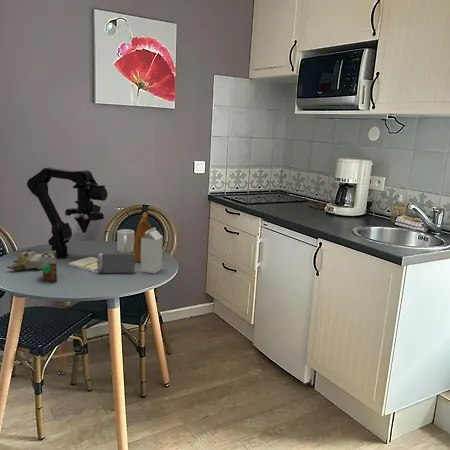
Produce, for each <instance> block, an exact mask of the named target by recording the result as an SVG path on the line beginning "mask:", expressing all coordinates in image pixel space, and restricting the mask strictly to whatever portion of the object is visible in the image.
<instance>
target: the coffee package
mask: <svg viewBox="0 0 450 450" xmlns="http://www.w3.org/2000/svg"><path fill="white" fill-rule="evenodd" d="M141 216H142V217H141V218H140V220H139V222H138V225H137V229H136V232H135V235H134V250H133V252H132V253H135V263H138V262H140V263H141V238H142V237H143V236H145V235H146V234H145V232H146V231H148V230H150V229H152V228H153V227H152V226H151V225H150V224H149V222H148V220H149V219H150V218H149V216H148V213H147V212H146V211H144V212H143V213H142V214H141Z"/></svg>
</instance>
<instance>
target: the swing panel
mask: <svg viewBox="0 0 450 450" xmlns="http://www.w3.org/2000/svg"><path fill="white" fill-rule="evenodd" d="M96 255H97V257H96V258H97V271H96V272H97V273H99V274H102V273H104V274H113V273H115V274H116V273H117V274H118V273H119V274H122V273H123V274H124V273H126V274H128V273H130V274H131V273H133V274H135V263H136V261H135V253H133V252H131V253H120V252H98V253H97V254H96Z"/></svg>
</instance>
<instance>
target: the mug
mask: <svg viewBox="0 0 450 450" xmlns="http://www.w3.org/2000/svg"><path fill="white" fill-rule="evenodd" d="M116 234H117V236H116V237H117V238H116V239H117V242H116V243H117V244H116V245H117V246H116V247H117V248H116V250H117V253H133V250H134V239H135V231H134V230H133V229H128V228H127V229H125V228H124V229H119V230H117V233H116Z"/></svg>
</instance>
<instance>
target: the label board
mask: <svg viewBox="0 0 450 450" xmlns="http://www.w3.org/2000/svg"><path fill="white" fill-rule="evenodd" d="M68 266H70V267H73V268H76V269H81V270H84V271H87V272H92V273H95V272H97V257H95V256H88V257H85V258H84V257H83V258H81V259H78V260H73V261H70V262H68Z"/></svg>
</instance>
